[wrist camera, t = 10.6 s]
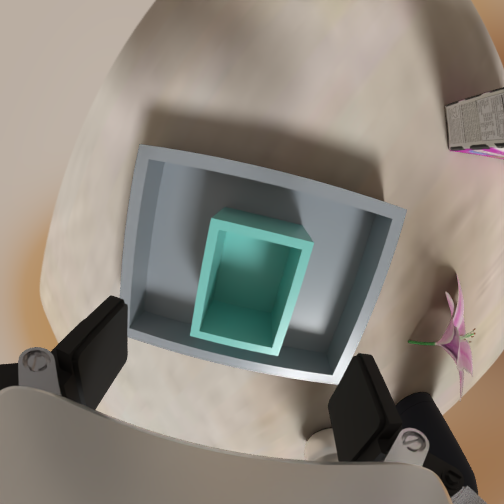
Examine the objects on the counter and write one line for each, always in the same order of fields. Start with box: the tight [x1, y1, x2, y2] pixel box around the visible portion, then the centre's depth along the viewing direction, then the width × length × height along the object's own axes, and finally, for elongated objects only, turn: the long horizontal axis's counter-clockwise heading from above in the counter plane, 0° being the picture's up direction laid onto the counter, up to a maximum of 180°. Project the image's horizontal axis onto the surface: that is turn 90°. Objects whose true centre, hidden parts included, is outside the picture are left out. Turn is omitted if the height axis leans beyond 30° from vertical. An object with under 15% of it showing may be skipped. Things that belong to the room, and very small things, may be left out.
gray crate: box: [120, 144, 407, 385], centre depth 23 cm, size 16×20×4 cm
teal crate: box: [190, 207, 314, 356], centre depth 21 cm, size 8×6×6 cm
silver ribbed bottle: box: [304, 428, 339, 462], centre depth 21 cm, size 6×7×20 cm
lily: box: [408, 276, 476, 401], centre depth 23 cm, size 12×12×10 cm
